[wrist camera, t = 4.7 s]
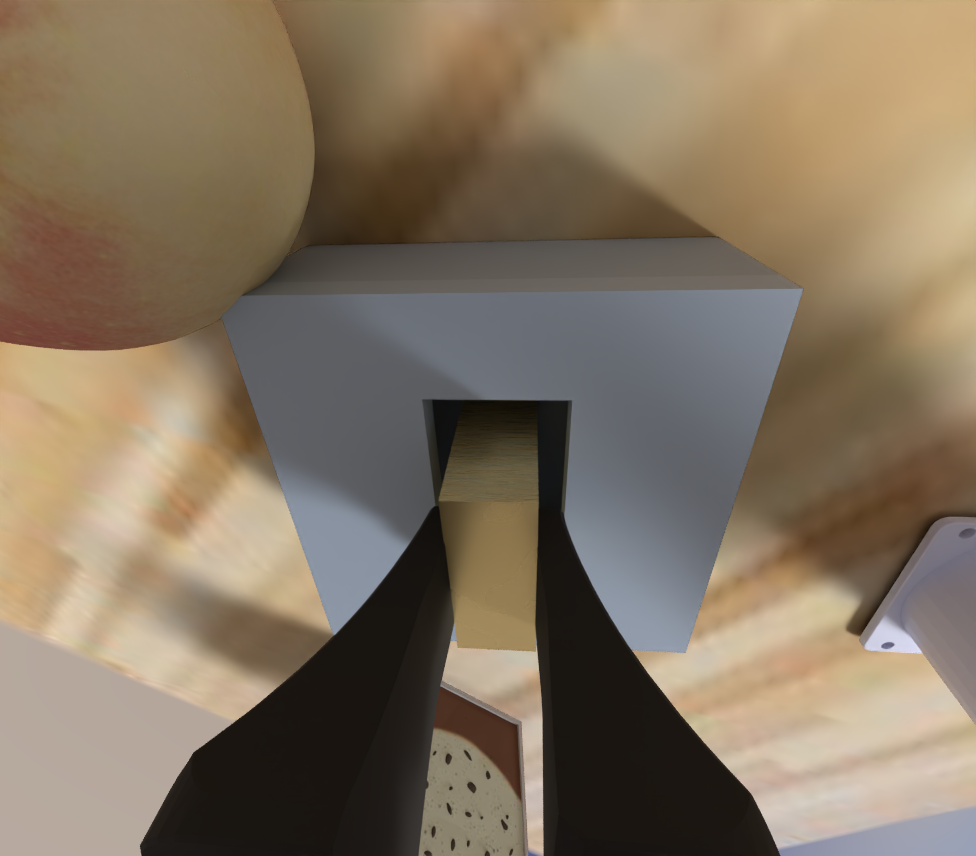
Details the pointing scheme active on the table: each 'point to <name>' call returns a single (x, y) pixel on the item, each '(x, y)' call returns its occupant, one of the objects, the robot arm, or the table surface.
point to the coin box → (519, 376)
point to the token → (493, 524)
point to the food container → (474, 781)
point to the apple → (144, 165)
